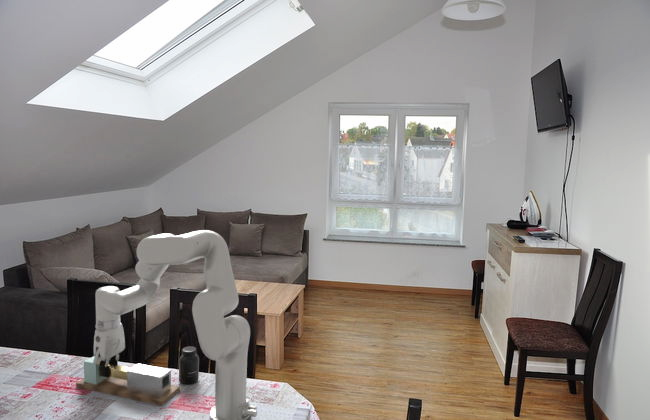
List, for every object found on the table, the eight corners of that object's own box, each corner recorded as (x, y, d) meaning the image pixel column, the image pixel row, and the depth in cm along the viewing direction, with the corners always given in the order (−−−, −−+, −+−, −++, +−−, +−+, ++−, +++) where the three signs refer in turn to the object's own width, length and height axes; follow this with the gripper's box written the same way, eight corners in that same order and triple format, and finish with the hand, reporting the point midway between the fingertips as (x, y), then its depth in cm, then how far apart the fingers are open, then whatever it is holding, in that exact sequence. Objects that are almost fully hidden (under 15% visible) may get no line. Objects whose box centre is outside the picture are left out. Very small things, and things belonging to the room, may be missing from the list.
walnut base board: (179, 390, 153) (179, 386, 153) (161, 405, 144) (161, 401, 144) (98, 374, 163) (98, 370, 162) (76, 387, 153) (76, 383, 153)
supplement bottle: (192, 386, 156) (193, 354, 155) (175, 384, 158) (175, 351, 156) (202, 377, 163) (202, 346, 162) (185, 375, 164) (185, 343, 163)
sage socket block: (111, 375, 159) (111, 355, 158) (96, 384, 152) (95, 363, 152) (99, 372, 161) (99, 352, 160) (84, 382, 154) (83, 361, 153)
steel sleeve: (170, 388, 152) (170, 369, 151) (160, 396, 146) (160, 377, 146) (138, 382, 155) (138, 363, 154) (127, 389, 150) (126, 370, 149)
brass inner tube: (149, 379, 152) (149, 370, 152) (143, 383, 149) (143, 375, 149) (100, 369, 158) (100, 361, 157) (94, 373, 155) (93, 365, 154)
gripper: (99, 333, 144) (100, 387, 146) (134, 316, 160) (134, 365, 162) (80, 329, 146) (81, 383, 148) (116, 313, 162) (117, 362, 164)
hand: (109, 373), depth 155 cm, fingers closed on brass inner tube, 3 cm apart
